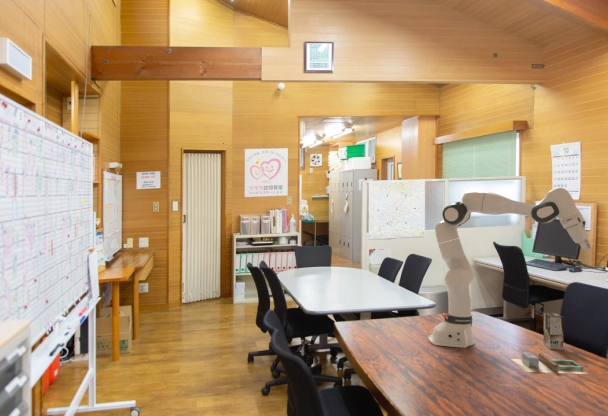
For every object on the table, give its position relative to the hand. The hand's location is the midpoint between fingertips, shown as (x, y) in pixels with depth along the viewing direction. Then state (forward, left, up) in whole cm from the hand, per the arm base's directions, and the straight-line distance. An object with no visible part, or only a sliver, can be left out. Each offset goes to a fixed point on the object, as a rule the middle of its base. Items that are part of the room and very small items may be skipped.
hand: (587, 249), depth 189 cm
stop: (-26, -5, -51) cm, 57 cm away
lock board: (-19, -5, -51) cm, 55 cm away
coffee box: (-3, +24, -52) cm, 57 cm away
